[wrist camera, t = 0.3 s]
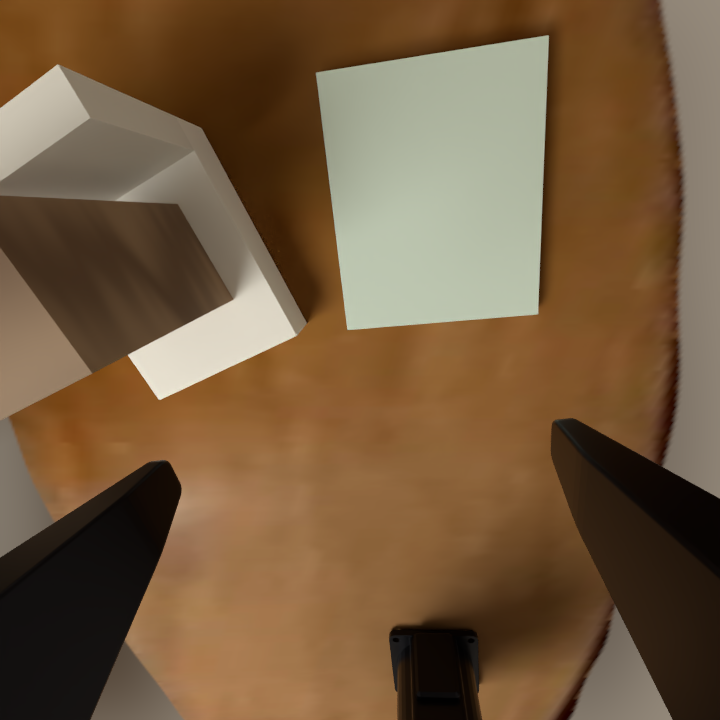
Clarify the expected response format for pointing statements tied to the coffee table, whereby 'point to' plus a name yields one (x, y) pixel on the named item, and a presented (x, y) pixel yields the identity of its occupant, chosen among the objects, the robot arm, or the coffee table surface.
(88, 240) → the walnut block
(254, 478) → the coffee table surface
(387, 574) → the coffee table surface
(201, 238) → the ledge
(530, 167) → the pad
